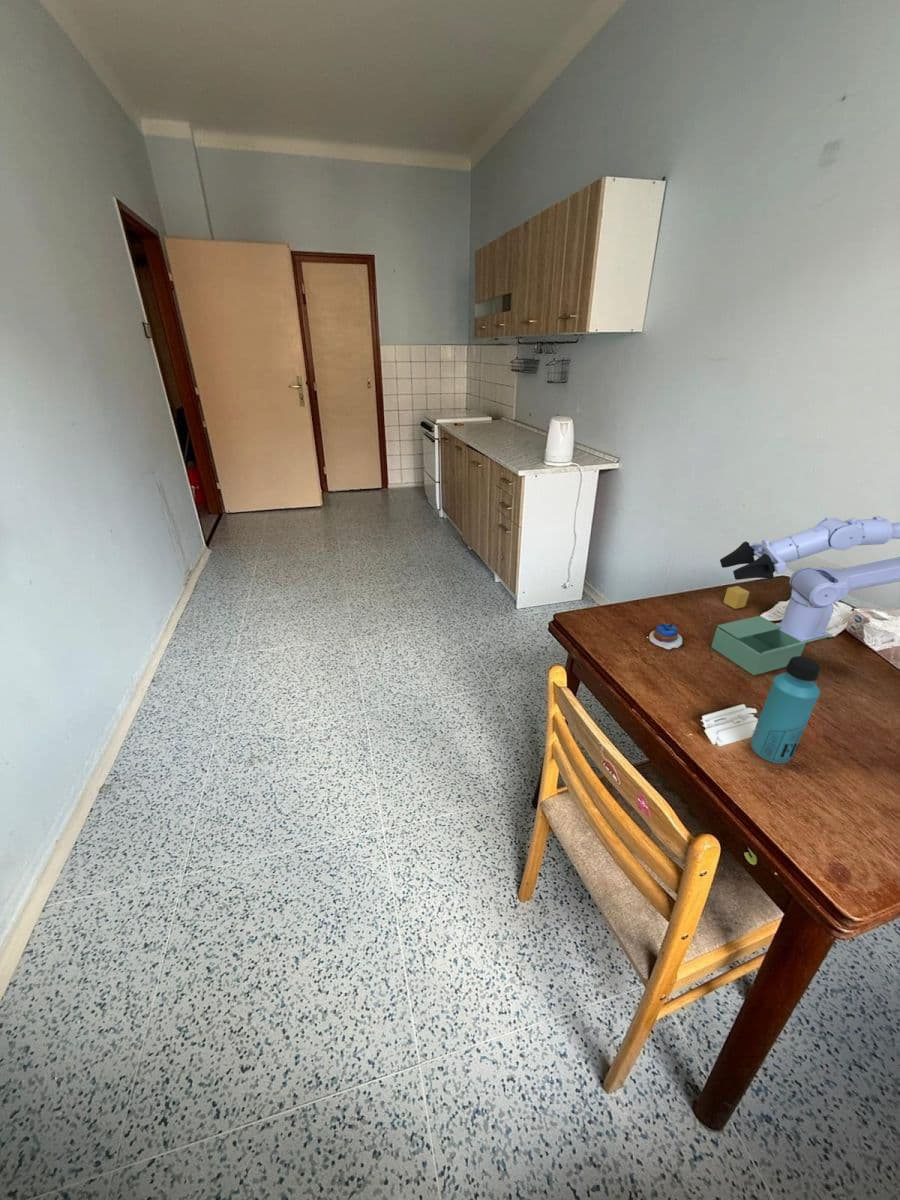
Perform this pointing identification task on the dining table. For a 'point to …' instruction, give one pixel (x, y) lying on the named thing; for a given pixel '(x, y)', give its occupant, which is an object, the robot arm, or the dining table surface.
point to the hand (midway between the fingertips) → (727, 569)
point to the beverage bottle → (786, 711)
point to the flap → (797, 643)
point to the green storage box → (756, 644)
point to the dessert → (666, 636)
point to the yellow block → (736, 597)
